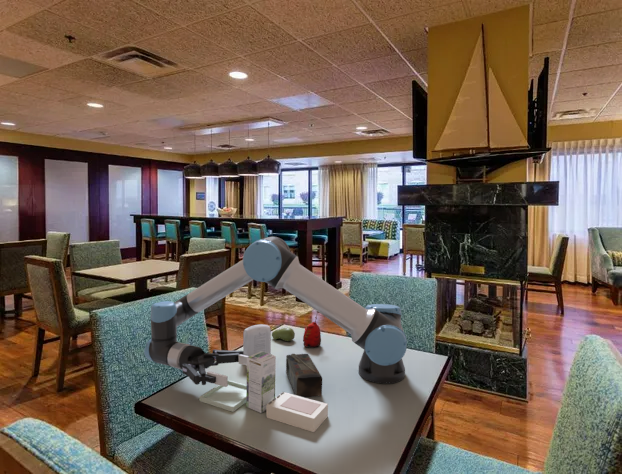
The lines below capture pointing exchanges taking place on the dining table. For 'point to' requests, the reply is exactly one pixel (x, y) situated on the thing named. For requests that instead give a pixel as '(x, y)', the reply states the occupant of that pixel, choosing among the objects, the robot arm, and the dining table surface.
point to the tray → (226, 396)
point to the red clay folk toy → (312, 335)
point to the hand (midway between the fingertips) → (242, 371)
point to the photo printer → (256, 339)
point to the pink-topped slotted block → (297, 411)
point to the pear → (283, 334)
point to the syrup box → (260, 380)
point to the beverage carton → (303, 375)
